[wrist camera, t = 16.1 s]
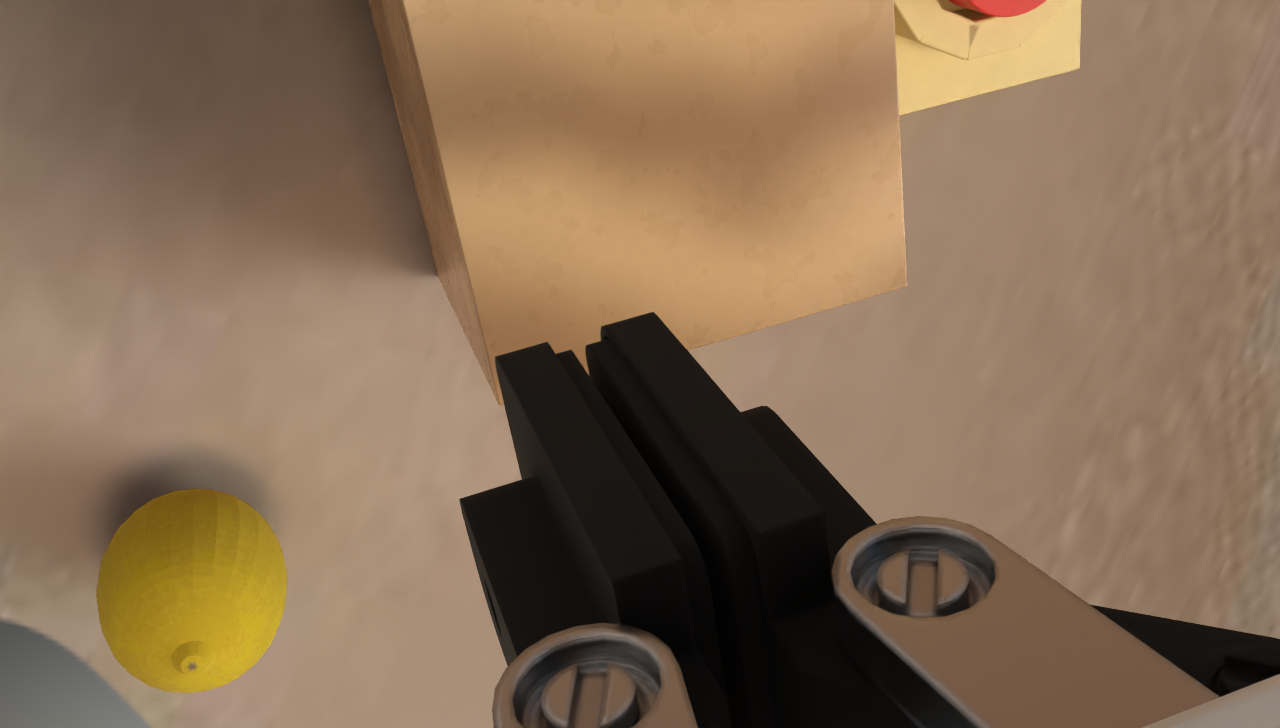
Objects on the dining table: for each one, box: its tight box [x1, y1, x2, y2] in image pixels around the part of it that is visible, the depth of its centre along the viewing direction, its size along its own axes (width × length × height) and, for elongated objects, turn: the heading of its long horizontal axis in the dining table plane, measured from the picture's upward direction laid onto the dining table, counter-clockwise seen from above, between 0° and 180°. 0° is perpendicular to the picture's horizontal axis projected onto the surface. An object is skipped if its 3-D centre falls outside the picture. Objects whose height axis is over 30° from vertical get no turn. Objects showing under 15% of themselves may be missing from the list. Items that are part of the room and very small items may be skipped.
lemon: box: [96, 488, 287, 693], centre depth 37 cm, size 6×6×8 cm
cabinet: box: [368, 0, 907, 405], centre depth 34 cm, size 14×12×10 cm
